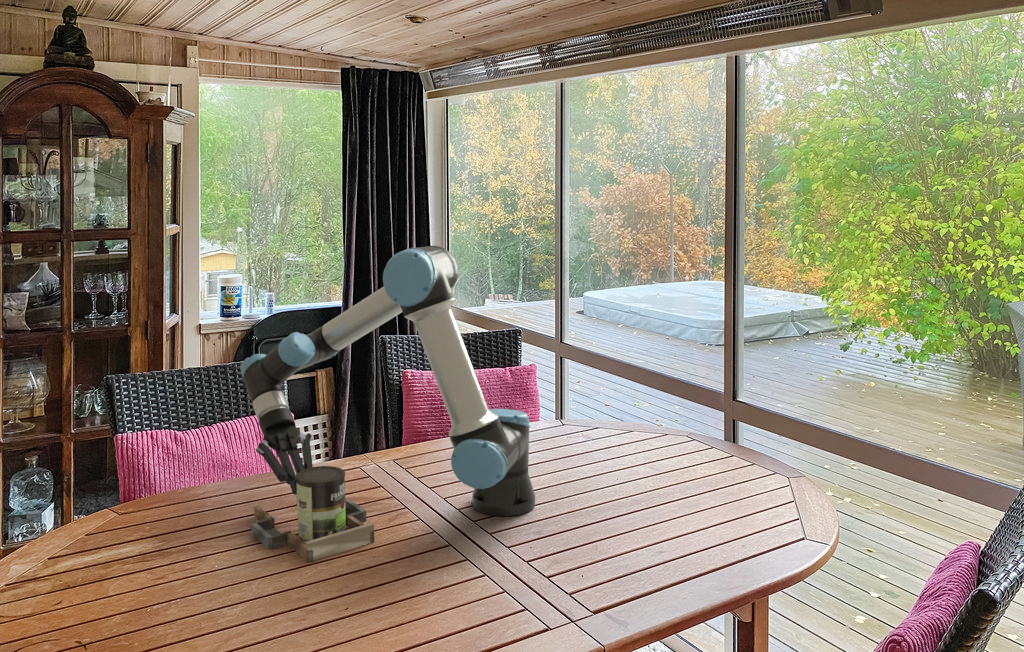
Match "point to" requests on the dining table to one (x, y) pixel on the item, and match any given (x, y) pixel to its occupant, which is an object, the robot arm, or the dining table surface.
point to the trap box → (321, 546)
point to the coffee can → (320, 502)
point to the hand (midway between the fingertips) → (307, 505)
